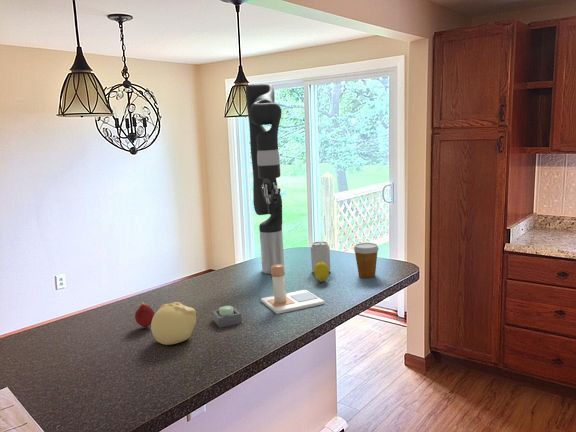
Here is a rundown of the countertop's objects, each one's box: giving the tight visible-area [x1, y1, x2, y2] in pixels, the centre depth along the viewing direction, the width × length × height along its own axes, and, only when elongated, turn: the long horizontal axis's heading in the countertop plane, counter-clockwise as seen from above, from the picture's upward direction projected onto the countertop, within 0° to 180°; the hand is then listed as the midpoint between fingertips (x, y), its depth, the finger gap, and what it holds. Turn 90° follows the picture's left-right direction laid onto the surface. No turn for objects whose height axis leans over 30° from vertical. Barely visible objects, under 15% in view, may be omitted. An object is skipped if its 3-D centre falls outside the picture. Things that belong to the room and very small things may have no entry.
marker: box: [271, 264, 287, 303], centre depth 161 cm, size 4×4×12 cm
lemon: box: [313, 261, 330, 283], centre depth 183 cm, size 6×6×8 cm
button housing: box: [211, 306, 242, 329], centre depth 150 cm, size 7×7×3 cm
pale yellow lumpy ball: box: [150, 301, 197, 346], centre depth 138 cm, size 12×12×11 cm
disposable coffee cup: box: [353, 242, 380, 279], centre depth 187 cm, size 10×10×12 cm
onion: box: [134, 302, 156, 328], centre depth 148 cm, size 6×6×8 cm
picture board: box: [260, 289, 325, 315], centre depth 163 cm, size 14×17×1 cm
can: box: [310, 241, 331, 273], centre depth 196 cm, size 8×8×12 cm
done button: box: [218, 305, 234, 317], centre depth 149 cm, size 4×4×4 cm
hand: (271, 214), depth 167 cm, fingers closed
